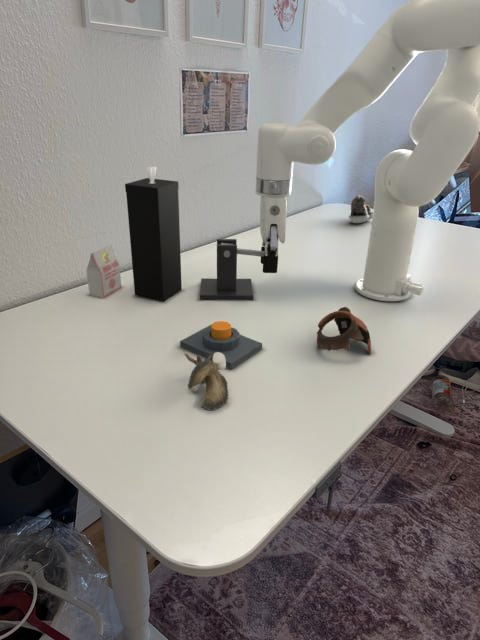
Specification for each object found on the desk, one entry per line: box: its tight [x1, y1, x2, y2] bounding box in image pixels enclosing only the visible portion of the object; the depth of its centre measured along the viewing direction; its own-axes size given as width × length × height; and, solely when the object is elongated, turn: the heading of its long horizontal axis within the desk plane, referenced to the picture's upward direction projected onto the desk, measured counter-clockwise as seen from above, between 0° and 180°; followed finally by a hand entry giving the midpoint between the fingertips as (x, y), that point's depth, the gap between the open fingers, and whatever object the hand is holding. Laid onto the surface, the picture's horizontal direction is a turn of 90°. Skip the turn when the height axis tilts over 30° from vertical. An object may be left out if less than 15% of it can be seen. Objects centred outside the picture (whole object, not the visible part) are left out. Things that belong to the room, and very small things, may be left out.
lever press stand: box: [199, 238, 254, 301], centre depth 108 cm, size 12×10×12 cm
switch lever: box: [221, 243, 265, 258], centre depth 107 cm, size 12×5×2 cm, turn 92°
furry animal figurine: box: [184, 352, 229, 412], centre depth 74 cm, size 8×7×9 cm
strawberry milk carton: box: [86, 244, 122, 299], centre depth 107 cm, size 4×7×10 cm, turn 157°
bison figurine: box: [348, 195, 373, 224], centre depth 166 cm, size 12×7×10 cm, turn 148°
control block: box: [179, 323, 263, 370], centre depth 87 cm, size 12×9×3 cm
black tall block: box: [124, 166, 183, 303], centre depth 103 cm, size 8×8×28 cm
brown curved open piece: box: [316, 306, 372, 355], centre depth 88 cm, size 12×10×8 cm
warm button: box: [210, 320, 232, 340], centre depth 86 cm, size 4×4×2 cm
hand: (268, 267), depth 109 cm, fingers closed on switch lever, 5 cm apart
